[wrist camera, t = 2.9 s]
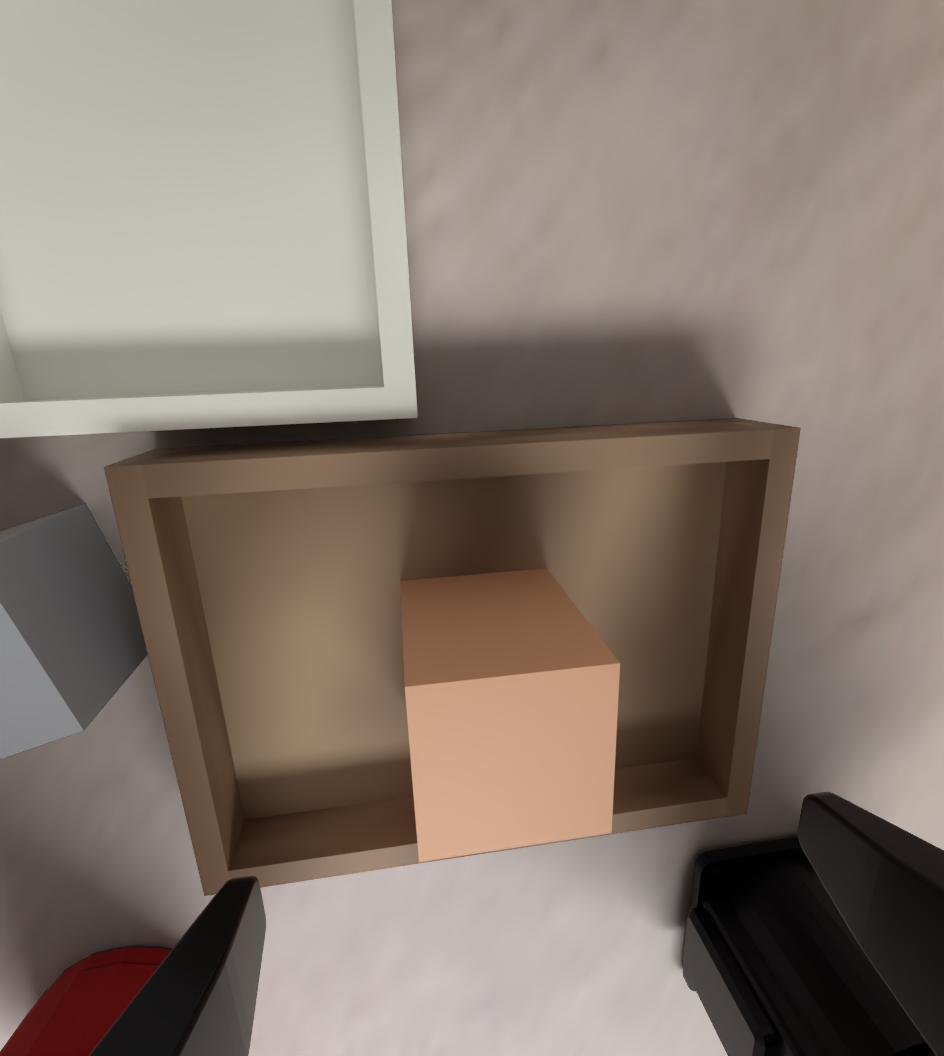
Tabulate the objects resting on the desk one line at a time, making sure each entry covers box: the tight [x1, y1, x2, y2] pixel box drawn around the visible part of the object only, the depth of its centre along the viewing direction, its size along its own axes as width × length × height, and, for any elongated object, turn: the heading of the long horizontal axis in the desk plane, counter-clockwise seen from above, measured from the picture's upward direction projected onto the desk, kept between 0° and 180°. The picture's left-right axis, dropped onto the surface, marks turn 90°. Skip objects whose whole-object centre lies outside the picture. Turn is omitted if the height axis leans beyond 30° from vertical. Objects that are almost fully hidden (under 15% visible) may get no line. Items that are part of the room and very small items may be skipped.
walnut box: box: [104, 418, 800, 896], centre depth 15 cm, size 15×11×2 cm
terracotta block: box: [400, 568, 620, 862], centre depth 13 cm, size 4×4×5 cm
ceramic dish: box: [0, 0, 418, 438], centre depth 11 cm, size 9×9×2 cm
